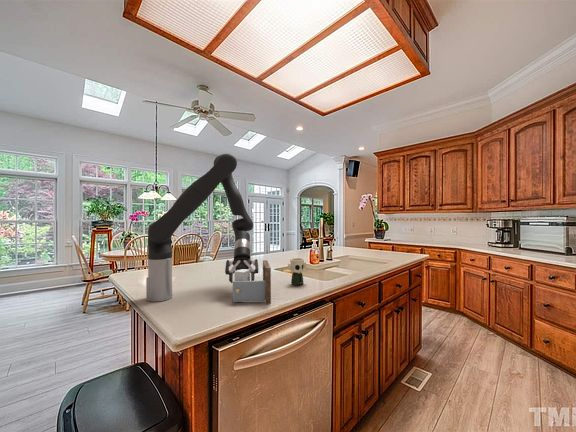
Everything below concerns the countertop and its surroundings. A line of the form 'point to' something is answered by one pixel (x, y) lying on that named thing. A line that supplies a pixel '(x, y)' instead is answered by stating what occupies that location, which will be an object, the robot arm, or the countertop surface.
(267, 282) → the door frame
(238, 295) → the door leaf
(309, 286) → the countertop surface
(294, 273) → the character mug
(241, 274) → the skincare box
